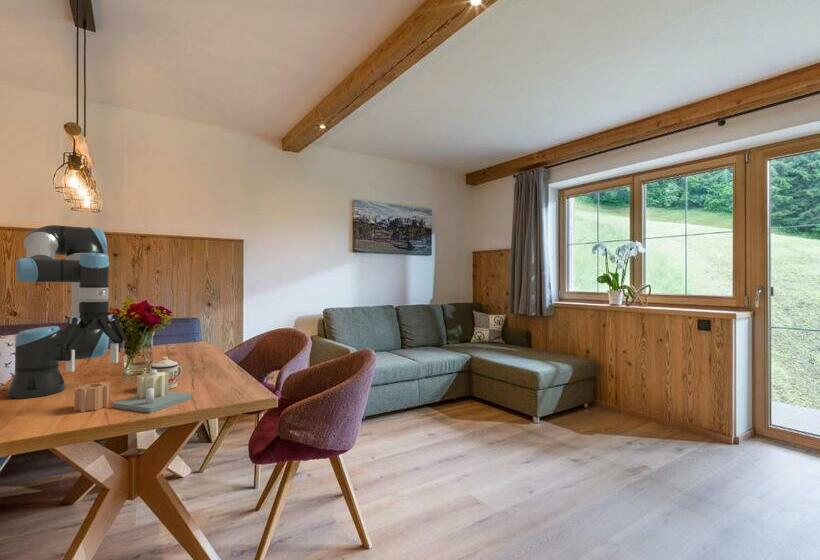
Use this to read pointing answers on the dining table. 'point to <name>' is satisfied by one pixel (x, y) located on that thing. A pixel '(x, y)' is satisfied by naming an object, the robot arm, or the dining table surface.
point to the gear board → (153, 406)
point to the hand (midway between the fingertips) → (93, 366)
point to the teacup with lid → (168, 370)
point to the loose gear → (92, 396)
